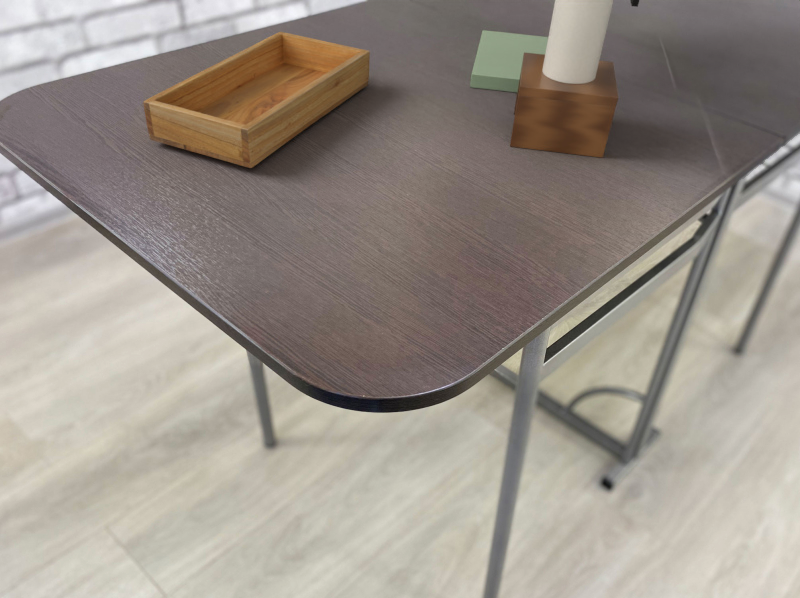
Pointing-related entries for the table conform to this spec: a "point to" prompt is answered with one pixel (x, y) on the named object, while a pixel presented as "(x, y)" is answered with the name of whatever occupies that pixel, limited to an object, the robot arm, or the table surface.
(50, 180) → the table surface
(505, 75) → the sage green flat slab
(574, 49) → the cylinder
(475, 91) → the table surface
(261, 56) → the tray
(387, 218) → the table surface
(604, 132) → the wood grain cuboid
